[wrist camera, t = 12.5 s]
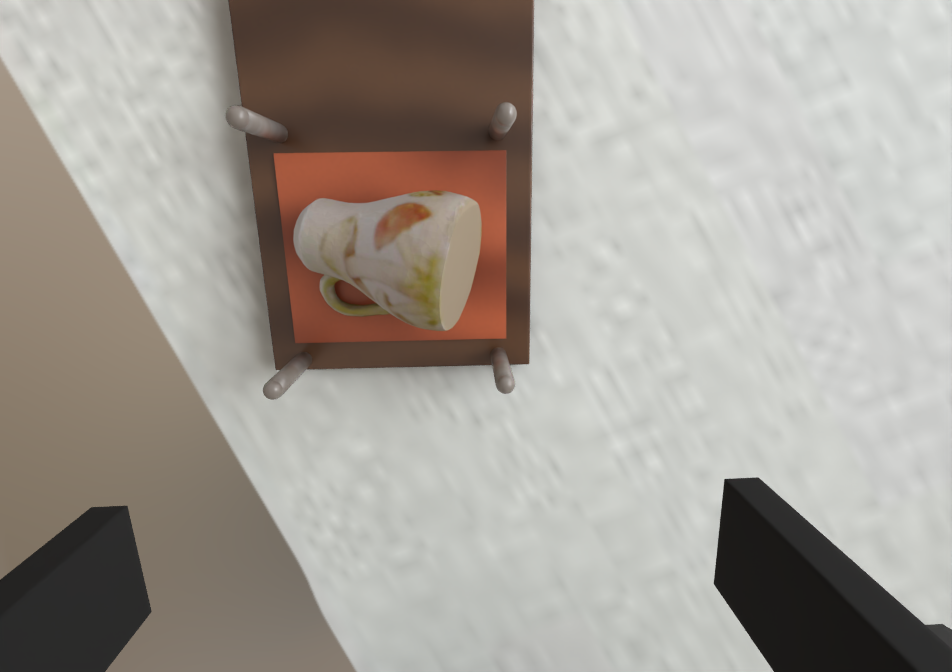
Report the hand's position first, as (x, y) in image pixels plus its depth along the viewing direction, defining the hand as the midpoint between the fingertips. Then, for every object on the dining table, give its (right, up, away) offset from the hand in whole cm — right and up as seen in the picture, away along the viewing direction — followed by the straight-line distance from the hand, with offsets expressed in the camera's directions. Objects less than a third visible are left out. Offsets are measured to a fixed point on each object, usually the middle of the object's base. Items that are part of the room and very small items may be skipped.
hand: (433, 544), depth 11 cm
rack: (-4, +16, +18) cm, 25 cm away
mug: (-4, +10, +18) cm, 21 cm away
